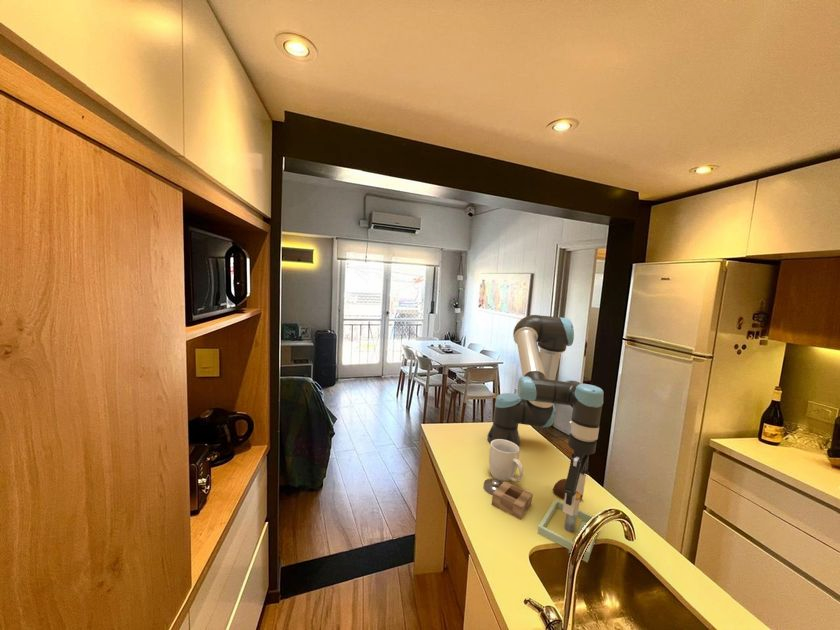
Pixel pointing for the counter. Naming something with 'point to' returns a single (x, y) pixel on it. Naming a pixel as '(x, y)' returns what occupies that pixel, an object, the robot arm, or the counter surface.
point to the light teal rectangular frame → (561, 539)
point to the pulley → (491, 485)
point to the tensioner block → (512, 499)
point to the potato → (561, 488)
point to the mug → (504, 460)
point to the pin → (571, 520)
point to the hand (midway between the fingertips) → (573, 502)
